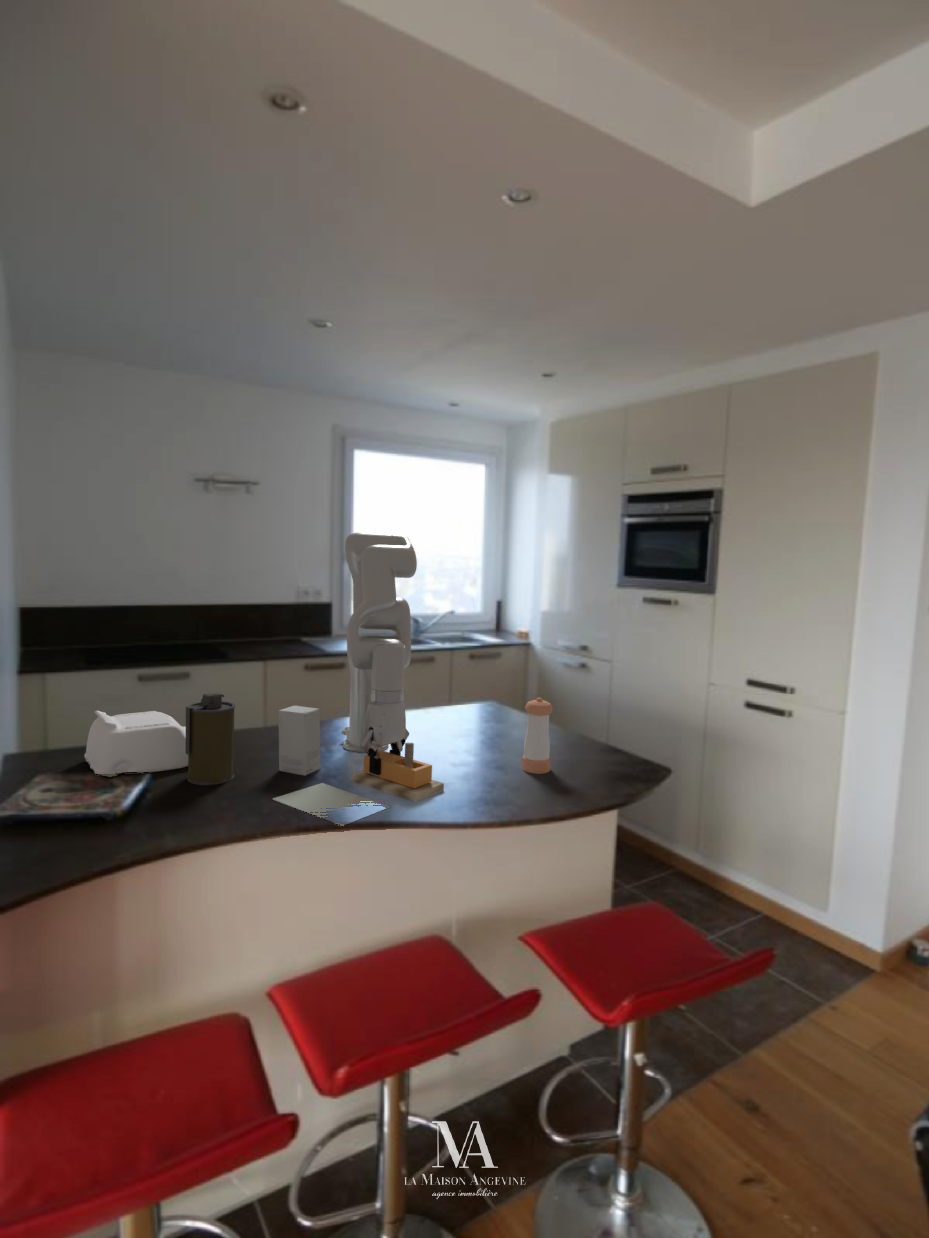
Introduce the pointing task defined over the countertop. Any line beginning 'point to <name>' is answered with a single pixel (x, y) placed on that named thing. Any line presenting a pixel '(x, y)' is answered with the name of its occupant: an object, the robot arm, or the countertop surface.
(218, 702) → the canister
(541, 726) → the pepper shaker
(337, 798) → the mat
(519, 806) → the countertop surface
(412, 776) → the link
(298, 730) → the skincare box
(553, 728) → the countertop surface
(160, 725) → the white toaster
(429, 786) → the peg base
